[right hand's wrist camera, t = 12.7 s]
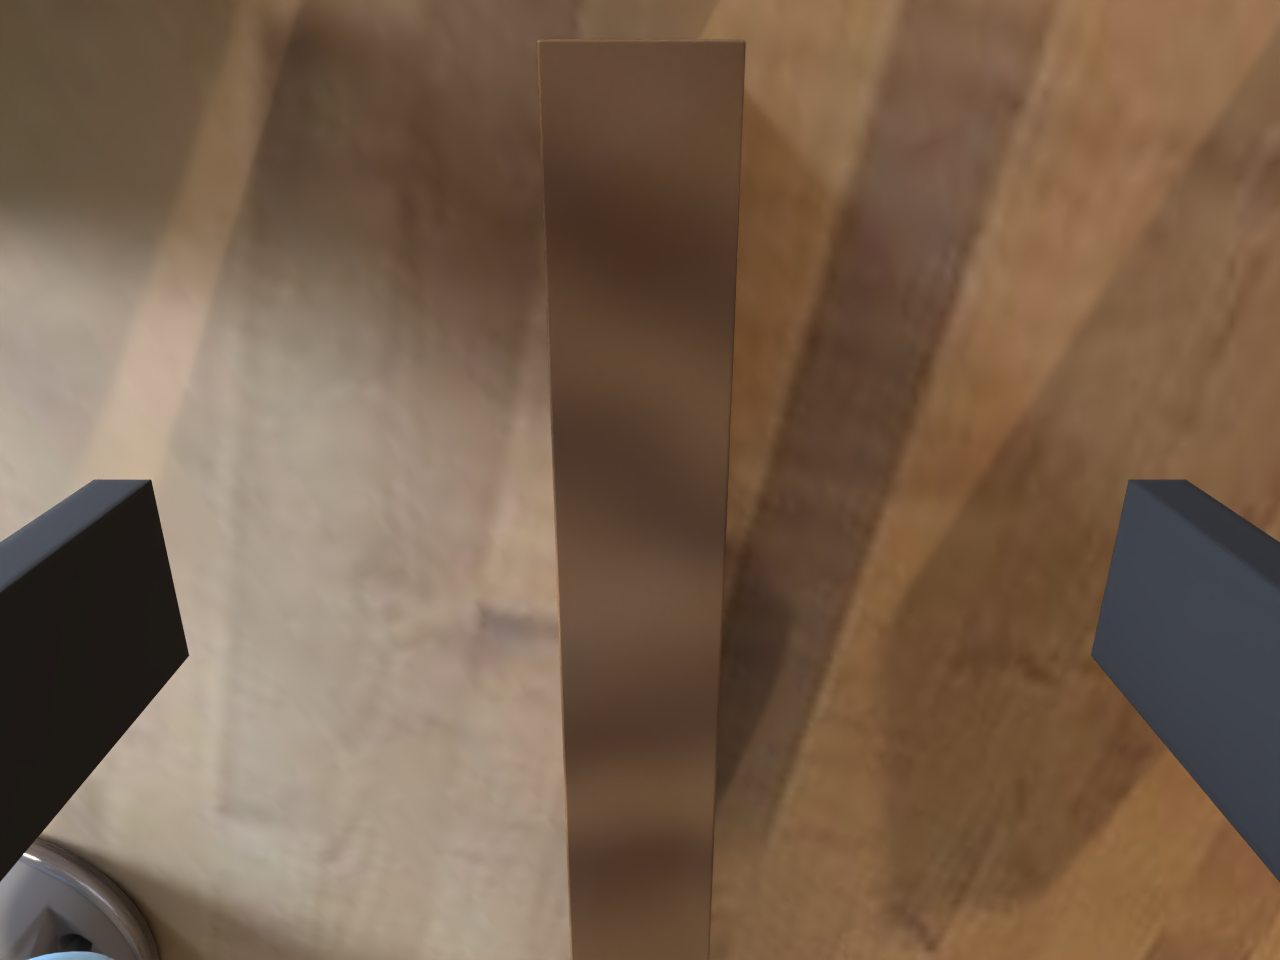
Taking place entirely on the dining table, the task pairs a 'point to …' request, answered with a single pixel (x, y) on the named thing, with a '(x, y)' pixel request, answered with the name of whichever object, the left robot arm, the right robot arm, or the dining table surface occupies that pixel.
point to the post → (640, 468)
